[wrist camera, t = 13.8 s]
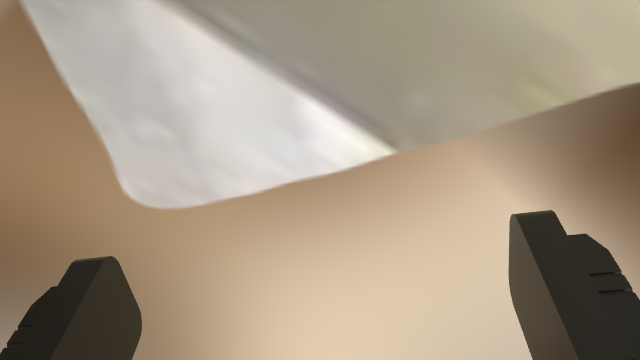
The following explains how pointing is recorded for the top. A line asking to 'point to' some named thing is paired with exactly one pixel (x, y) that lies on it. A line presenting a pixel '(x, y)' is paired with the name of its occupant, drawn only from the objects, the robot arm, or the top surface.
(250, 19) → the top surface
